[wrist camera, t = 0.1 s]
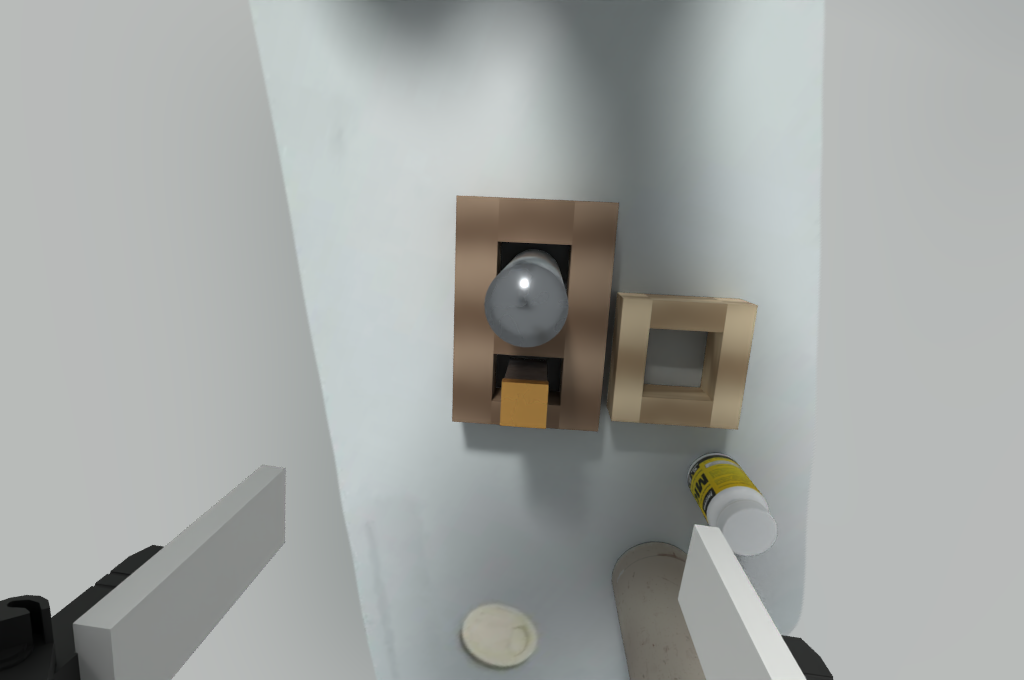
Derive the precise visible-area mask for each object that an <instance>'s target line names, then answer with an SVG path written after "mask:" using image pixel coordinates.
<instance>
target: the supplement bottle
mask: <svg viewBox="0 0 1024 680" xmlns="http://www.w3.org/2000/svg"><path fill="white" fill-rule="evenodd" d="M687 481H688V485H689V488H690V490H691V492H692V494H693V496H694V498H695V500H696V501H697V503H698V505H699V507H700V509H701V511H702V513H703V515H704V517H705V518H706V520H707V522H708V524H709V526H711V527H718V528H719V529H720V530H721V532H722V534H723V536H724V537H725V539H726V541H727V542H728V544H729V546H730V548H731V549H732V551H733V552H734V553H736V554H738V555H742V556H754V555H758V554H761V553H763V552H765V551H766V550H768V549H769V548H770V547H771V546H772V545H773V544H774V542H775V540H776V538H777V534H778V529H777V524H776V522H775V520H774V518H773V517H772V515H771V514H770V513H769V507H768V504H767V502H766V500H765V498H764V497H763V495H762V494H761V493H760V492H759V490H758V489H757V488H756V487H755V485H754V484H753V483H752V481H751V480H750V479H749V478H748V476H747V475H746V474H745V472H744V471H743V470H742V469H741V467H740V466H739V465H738V463H737V462H736V461H735V460H734V459H732V458H731V457H729V456H727V455H725V454H721V453H711V454H706V455H704V456H701V457H700V458H698V459H697V460H696V461H694V463H693V464H692V465H691V467H690V469H689V471H688V476H687Z"/></svg>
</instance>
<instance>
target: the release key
mask: <svg viewBox="0 0 1024 680" xmlns="http://www.w3.org/2000/svg"><path fill="white" fill-rule="evenodd" d="M548 387H549V381H547V360H542V359H525V358H510V360H509V364H508V368H507V371H506V375H505V378H503V380H502V390H501V413H500V426H514V427H528V428H543V429H546V418H547V402H548Z"/></svg>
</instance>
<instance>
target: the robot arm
mask: <svg viewBox="0 0 1024 680" xmlns="http://www.w3.org/2000/svg"><path fill="white" fill-rule="evenodd" d="M285 475H286V468H283V467H275V466H268V465H262V466H261V467H259V468H258V469H257V470H256V471H254V472H253V473H252V474H251V475H250V476H248V477H247V478H246V479H245V480H244V481H243V482H242V483H240V484H239V485H238V486H237V487H235V488H234V489H233V490H232V491H231V492H229V493H228V494H227V495H226V496H225V497H223V498H222V499H221V500H220V501H219V502H218V503H216V504H215V505H214V506H213V507H211V508H210V509H209V510H208V511H207V512H205V513H204V514H203V515H202V516H201V517H199V518H198V519H197V520H196V521H195V522H193V523H192V524H191V525H190V526H189V527H187V528H186V529H185V530H184V531H183V532H181V533H180V534H179V535H178V536H177V537H176V538H174V539H173V540H172V541H171V542H170V543H168V544H167V545H166V546H165V547H162V546H156V545H152V546H150V547H148V548H146V549H144V550H142V551H140V552H137V553H135V554H133V555H132V556H129V557H128V558H127V559H125V560H124V561H123V562H122V563H121V564H119V565H118V566H117V567H115V568H114V569H113V570H111V572H110V574H107V575H105V576H104V577H103V578H102V579H100V580H99V581H98V582H96V583H95V586H94V587H93V586H91V587H90V588H89V589H87V590H86V591H85V592H84V593H82V594H81V595H80V596H79V597H77V598H76V599H75V600H74V601H72V602H71V603H70V604H68V605H67V606H66V607H65V608H63V609H62V610H61V611H60V612H58V613H57V614H56V615H54V616H53V617H52V618H51V613H50V606H49V602H48V600H47V599H45V598H43V597H41V596H33V595H24V596H19V597H13V598H8V599H6V600H2V601H0V680H171V679H172V678H173V677H174V676H175V674H176V673H177V672H178V671H179V670H180V668H181V667H182V666H183V665H184V664H185V662H186V661H187V660H188V659H189V657H190V656H191V655H192V654H193V653H194V651H195V650H196V649H197V648H198V646H199V645H200V644H201V643H202V642H203V641H204V639H205V638H206V637H207V636H208V635H209V633H210V632H211V631H212V630H213V629H214V627H215V626H216V625H217V624H218V623H219V621H220V620H221V619H222V618H223V616H224V615H225V614H226V613H227V612H228V611H229V609H230V608H231V607H232V606H233V604H234V603H235V602H236V601H237V600H238V598H239V597H240V596H241V595H242V594H243V592H244V591H245V590H246V589H247V588H248V586H249V585H250V584H251V583H252V582H253V580H254V579H255V578H256V577H257V576H258V574H259V573H260V572H261V571H262V569H263V568H264V567H265V566H266V565H267V564H268V562H269V561H270V559H272V557H273V556H274V555H275V554H276V553H277V551H278V550H279V549H280V548H281V547H282V545H283V544H284V543H285V477H286V476H285ZM678 601H679V604H680V607H681V610H682V613H683V615H684V618H685V621H686V624H687V627H688V630H689V632H690V635H691V638H692V641H693V644H694V647H695V649H696V652H697V655H698V658H699V661H700V663H701V666H702V669H703V672H704V675H705V678H706V680H833V676H832V674H831V673H830V671H829V670H828V668H827V667H826V665H825V663H824V662H823V660H822V659H821V657H820V656H819V655H818V654H817V653H816V652H815V651H814V650H813V649H811V648H810V647H809V646H808V645H807V644H806V643H805V642H804V641H803V640H802V639H801V638H796V637H790V636H783V635H780V633H779V631H778V629H777V628H776V626H775V624H774V622H773V621H772V619H771V617H770V615H769V614H768V612H767V610H766V608H765V607H764V605H763V603H762V602H761V600H760V598H759V596H758V595H757V593H756V591H755V589H754V588H753V586H752V584H751V582H750V581H749V579H748V577H747V575H746V574H745V572H744V570H743V569H742V567H741V565H740V563H739V562H738V560H737V558H736V556H735V555H734V553H733V551H732V549H731V548H730V546H729V544H728V542H727V541H726V539H725V537H724V536H723V534H722V532H721V530H720V529H719V528H718V527H711V526H704V525H696V524H694V527H693V532H692V537H691V541H690V546H689V550H688V555H687V559H686V564H685V568H684V573H683V577H682V582H681V587H680V591H679V596H678Z"/></svg>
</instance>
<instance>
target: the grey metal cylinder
mask: <svg viewBox="0 0 1024 680" xmlns="http://www.w3.org/2000/svg"><path fill="white" fill-rule="evenodd" d="M568 305H569V303H568V297H567V293H566V290H565V286H564V283H563V279H562V276H561V273H560V269H559V266H558V264H557V262H556V260H555V259H554V258H553V257H552V256H551V255H550V254H549V253H547V252H545V251H543V250H539V249H529V250H525V251H523V252H521V253H519V254H518V255H517V256H516V257H515V258H514V259H513V260H512V261H511V262H510V263H509V264H508V265H507V266H506V267H505V268H504V269H503V270H502V271H501V272H500V273H499V274H498V275H497V276H496V277H495V278H494V280H493V281H492V282H491V284H490V286H489V288H488V290H487V293H486V296H485V303H484V308H485V315H486V318H487V321H488V323H489V325H490V327H491V329H492V330H493V331H494V333H495V334H496V335H497V336H498V337H499V338H501V339H502V340H504V341H505V342H507V343H509V344H512V345H514V346H518V347H535V346H539V345H542V344H544V343H546V342H548V341H550V340H551V339H552V338H554V337H555V336H556V335H557V334H558V333H559V332H560V330H561V329H562V327H563V326H564V324H565V321H566V319H567V315H568Z"/></svg>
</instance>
